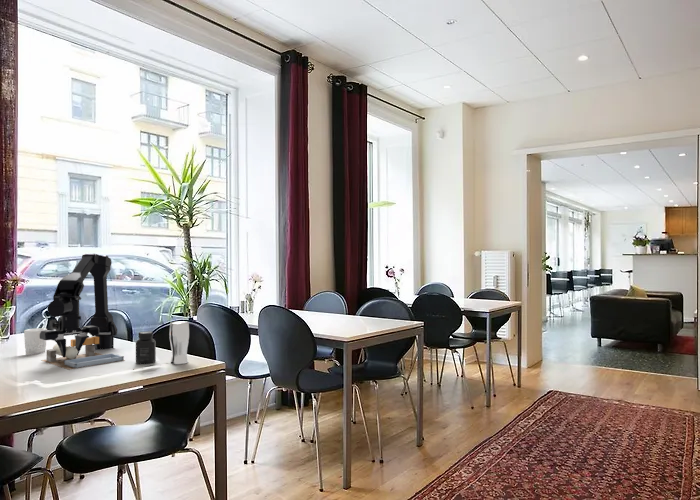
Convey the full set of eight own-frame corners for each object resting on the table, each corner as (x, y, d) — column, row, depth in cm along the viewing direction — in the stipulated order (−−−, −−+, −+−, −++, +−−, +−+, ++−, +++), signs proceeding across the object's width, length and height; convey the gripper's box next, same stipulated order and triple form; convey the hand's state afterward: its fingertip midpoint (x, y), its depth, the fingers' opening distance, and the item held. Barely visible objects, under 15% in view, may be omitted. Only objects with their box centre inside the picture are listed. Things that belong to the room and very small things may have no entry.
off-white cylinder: (52, 355, 197) (52, 344, 197) (63, 353, 200) (63, 342, 200) (66, 359, 189) (66, 348, 189) (77, 357, 193) (77, 346, 193)
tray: (111, 357, 201) (111, 353, 201) (123, 360, 196) (123, 356, 196) (64, 364, 188) (64, 360, 188) (75, 368, 182) (75, 363, 182)
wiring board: (95, 354, 211) (95, 342, 211) (125, 363, 196) (125, 349, 196) (40, 362, 195) (40, 349, 195) (68, 372, 180) (68, 357, 180)
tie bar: (95, 342, 208) (95, 336, 208) (99, 343, 206) (99, 337, 206) (69, 346, 201) (69, 339, 201) (73, 347, 199) (73, 340, 199)
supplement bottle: (159, 363, 194) (159, 331, 194) (146, 367, 188) (147, 334, 188) (144, 362, 196) (144, 330, 197) (131, 366, 190) (131, 333, 190)
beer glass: (172, 361, 199) (172, 321, 199) (190, 360, 200) (191, 321, 200) (167, 365, 192) (167, 323, 192) (186, 364, 193) (186, 323, 193)
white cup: (36, 356, 207) (36, 331, 207) (19, 356, 208) (19, 330, 208) (51, 353, 214) (51, 328, 214) (34, 352, 216) (34, 327, 216)
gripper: (86, 309, 204) (86, 350, 204) (33, 314, 190) (33, 357, 190) (100, 311, 197) (100, 353, 197) (46, 316, 183) (46, 361, 183)
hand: (70, 356), depth 192 cm, fingers closed on off-white cylinder, 4 cm apart
